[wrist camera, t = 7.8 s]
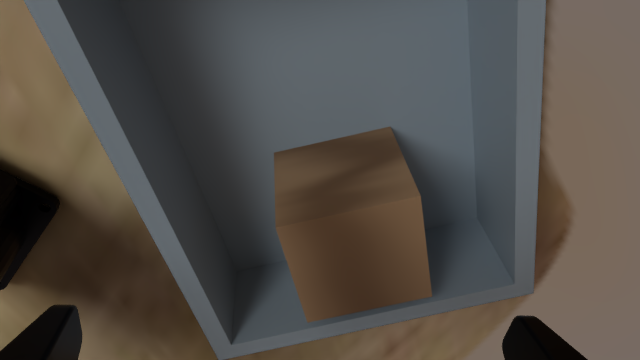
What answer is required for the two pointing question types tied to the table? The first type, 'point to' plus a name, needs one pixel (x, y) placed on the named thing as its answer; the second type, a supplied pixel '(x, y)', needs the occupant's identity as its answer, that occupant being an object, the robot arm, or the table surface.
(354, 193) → the walnut cube
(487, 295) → the tote
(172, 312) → the table surface
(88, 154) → the table surface
